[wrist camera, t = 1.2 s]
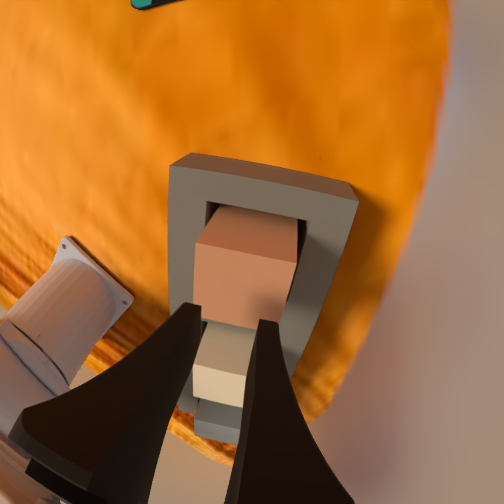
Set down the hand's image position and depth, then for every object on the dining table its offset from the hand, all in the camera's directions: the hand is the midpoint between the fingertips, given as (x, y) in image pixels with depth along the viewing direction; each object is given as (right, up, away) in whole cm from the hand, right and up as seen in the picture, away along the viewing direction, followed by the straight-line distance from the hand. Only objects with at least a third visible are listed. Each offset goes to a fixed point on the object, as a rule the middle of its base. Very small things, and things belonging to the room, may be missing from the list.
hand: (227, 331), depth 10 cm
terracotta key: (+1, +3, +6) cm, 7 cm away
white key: (0, -3, +10) cm, 10 cm away
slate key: (-1, -10, +14) cm, 17 cm away
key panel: (0, -3, +11) cm, 12 cm away
